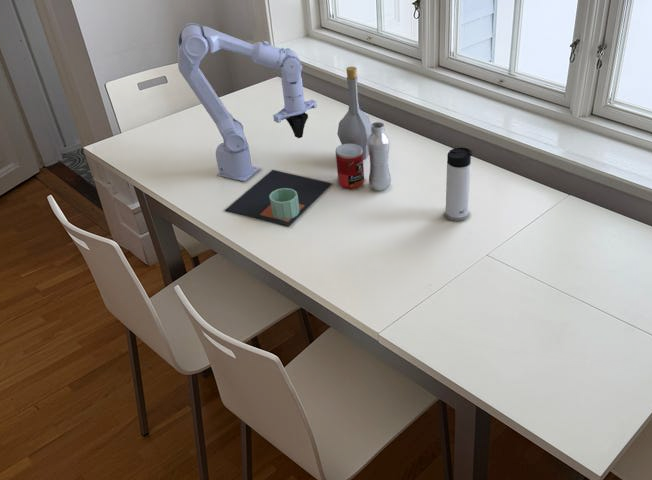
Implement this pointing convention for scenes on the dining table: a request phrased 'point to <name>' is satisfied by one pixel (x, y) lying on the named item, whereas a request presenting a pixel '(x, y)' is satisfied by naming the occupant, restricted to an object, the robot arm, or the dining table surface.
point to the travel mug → (458, 183)
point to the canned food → (350, 166)
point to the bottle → (354, 118)
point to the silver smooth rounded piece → (378, 157)
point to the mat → (258, 196)
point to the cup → (284, 203)
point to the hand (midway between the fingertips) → (298, 136)
